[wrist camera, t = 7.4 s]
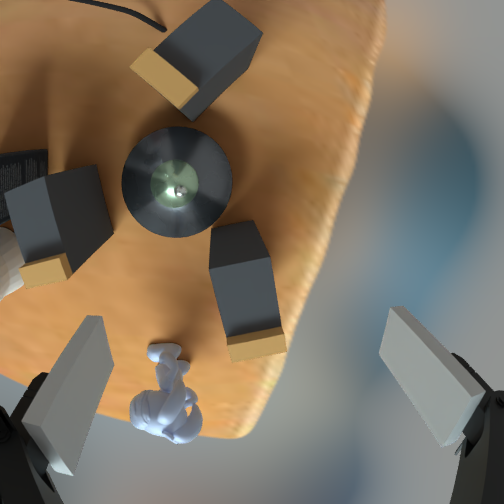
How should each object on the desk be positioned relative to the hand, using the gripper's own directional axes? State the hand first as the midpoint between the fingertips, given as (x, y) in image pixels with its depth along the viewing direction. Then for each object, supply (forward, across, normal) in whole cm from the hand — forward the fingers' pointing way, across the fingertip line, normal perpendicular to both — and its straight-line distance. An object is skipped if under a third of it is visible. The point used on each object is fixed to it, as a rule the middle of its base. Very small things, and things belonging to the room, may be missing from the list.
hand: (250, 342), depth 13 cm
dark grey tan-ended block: (+18, -3, +14) cm, 23 cm away
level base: (+18, -5, +5) cm, 19 cm away
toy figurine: (+18, -7, -15) cm, 24 cm away
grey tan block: (+18, -14, +3) cm, 23 cm away
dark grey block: (+18, 0, -2) cm, 18 cm away
